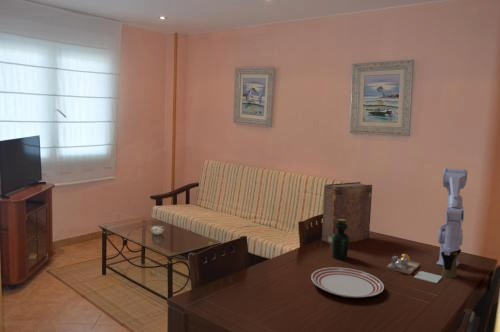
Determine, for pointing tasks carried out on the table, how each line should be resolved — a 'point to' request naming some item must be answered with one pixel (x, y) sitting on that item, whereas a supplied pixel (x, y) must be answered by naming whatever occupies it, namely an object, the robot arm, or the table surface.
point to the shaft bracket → (403, 265)
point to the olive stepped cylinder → (453, 271)
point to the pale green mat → (428, 277)
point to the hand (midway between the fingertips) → (449, 267)
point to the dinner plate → (347, 282)
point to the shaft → (401, 260)
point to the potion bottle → (340, 241)
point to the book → (347, 210)
